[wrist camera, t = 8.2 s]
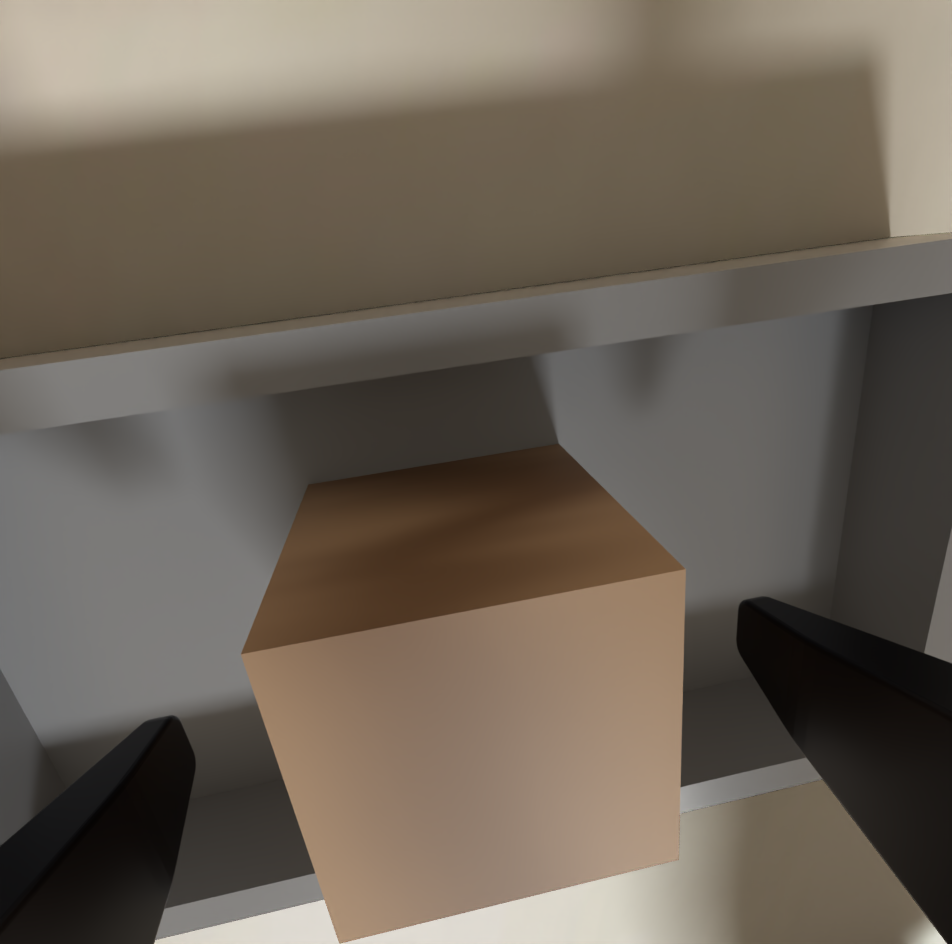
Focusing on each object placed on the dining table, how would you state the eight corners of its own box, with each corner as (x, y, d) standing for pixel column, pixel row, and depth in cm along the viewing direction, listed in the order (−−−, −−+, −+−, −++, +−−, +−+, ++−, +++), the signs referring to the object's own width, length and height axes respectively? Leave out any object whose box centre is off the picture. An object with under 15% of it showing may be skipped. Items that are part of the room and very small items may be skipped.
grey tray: (892, 237, 11) (1062, 223, 8) (830, 664, 15) (932, 752, 12) (-177, 382, 9) (-427, 429, 6) (76, 828, 13) (-11, 979, 10)
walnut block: (558, 443, 11) (685, 569, 6) (572, 644, 13) (678, 859, 8) (308, 484, 10) (241, 654, 6) (358, 687, 12) (338, 943, 7)
